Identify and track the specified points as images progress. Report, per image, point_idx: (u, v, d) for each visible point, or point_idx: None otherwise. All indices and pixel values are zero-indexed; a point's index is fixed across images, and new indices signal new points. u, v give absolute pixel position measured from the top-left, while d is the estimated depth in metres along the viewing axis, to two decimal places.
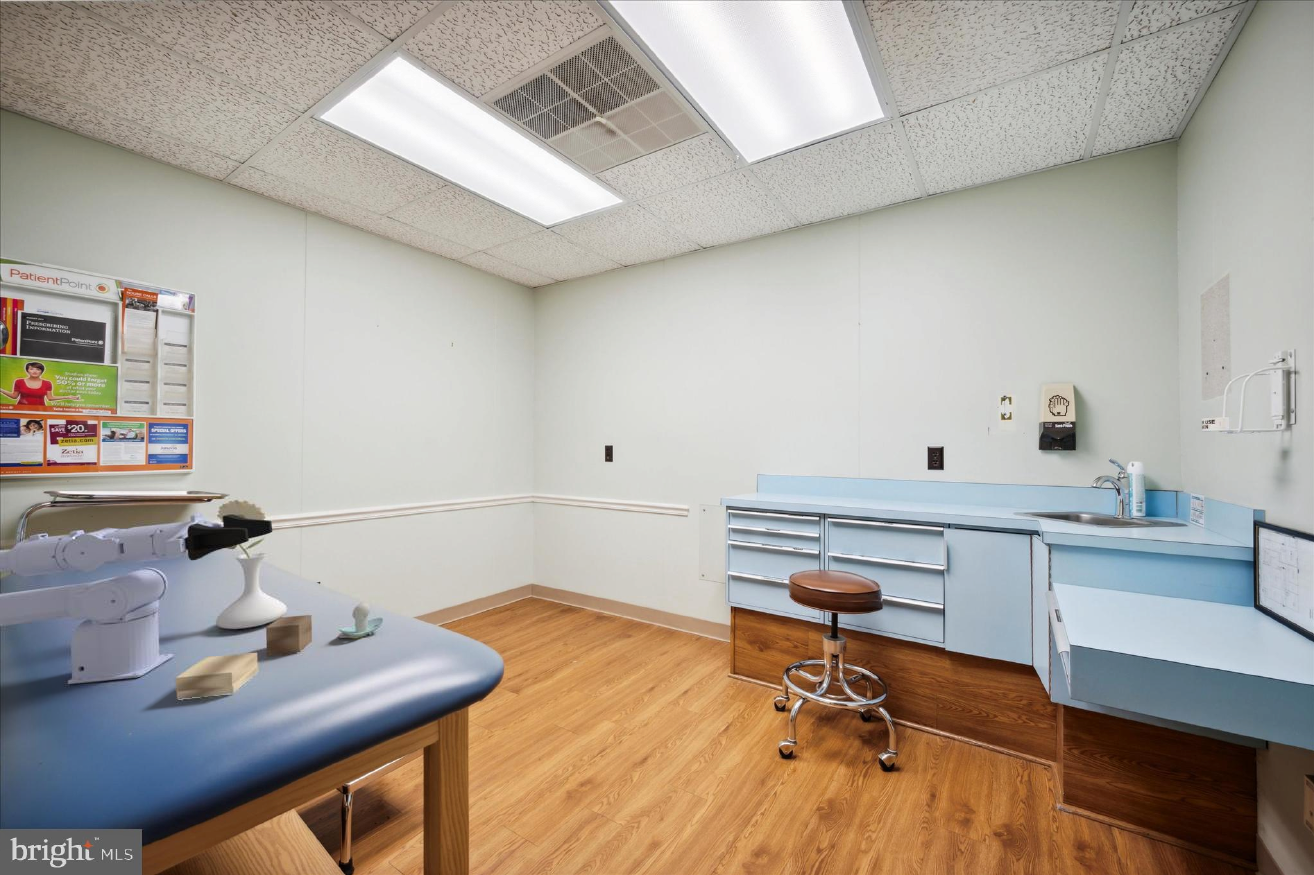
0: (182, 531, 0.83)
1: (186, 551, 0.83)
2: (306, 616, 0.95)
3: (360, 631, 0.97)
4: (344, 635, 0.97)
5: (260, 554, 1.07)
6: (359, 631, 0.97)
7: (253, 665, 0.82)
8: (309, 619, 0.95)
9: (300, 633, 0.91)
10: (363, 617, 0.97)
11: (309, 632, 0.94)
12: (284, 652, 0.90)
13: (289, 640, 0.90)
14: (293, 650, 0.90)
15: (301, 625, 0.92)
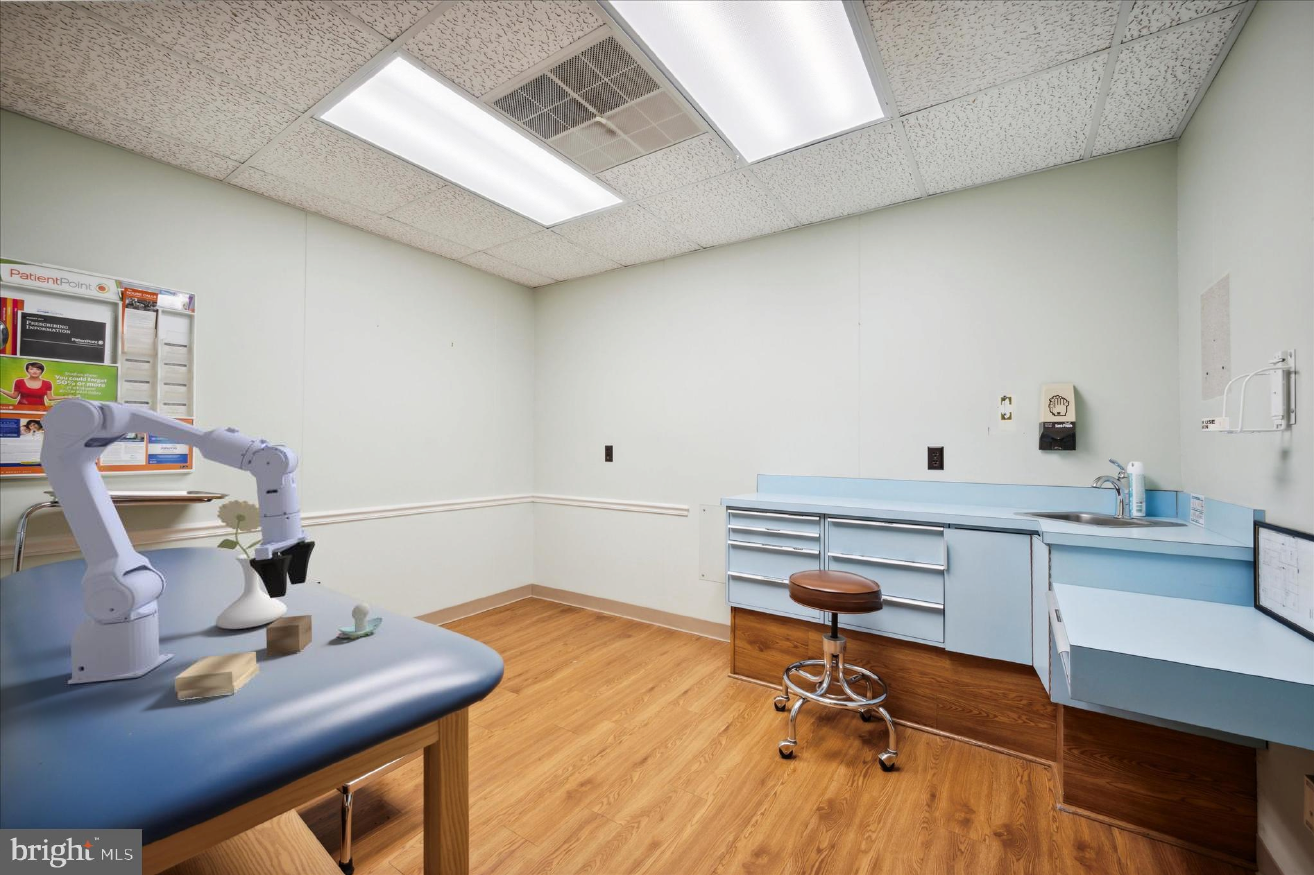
0: (283, 544, 0.88)
1: None
2: (306, 616, 0.95)
3: (359, 631, 0.97)
4: (343, 635, 0.97)
5: None
6: (358, 631, 0.97)
7: (252, 664, 0.82)
8: (309, 619, 0.95)
9: (300, 633, 0.91)
10: (362, 617, 0.98)
11: (309, 632, 0.94)
12: (284, 652, 0.90)
13: (289, 640, 0.90)
14: (293, 650, 0.90)
15: (301, 625, 0.92)
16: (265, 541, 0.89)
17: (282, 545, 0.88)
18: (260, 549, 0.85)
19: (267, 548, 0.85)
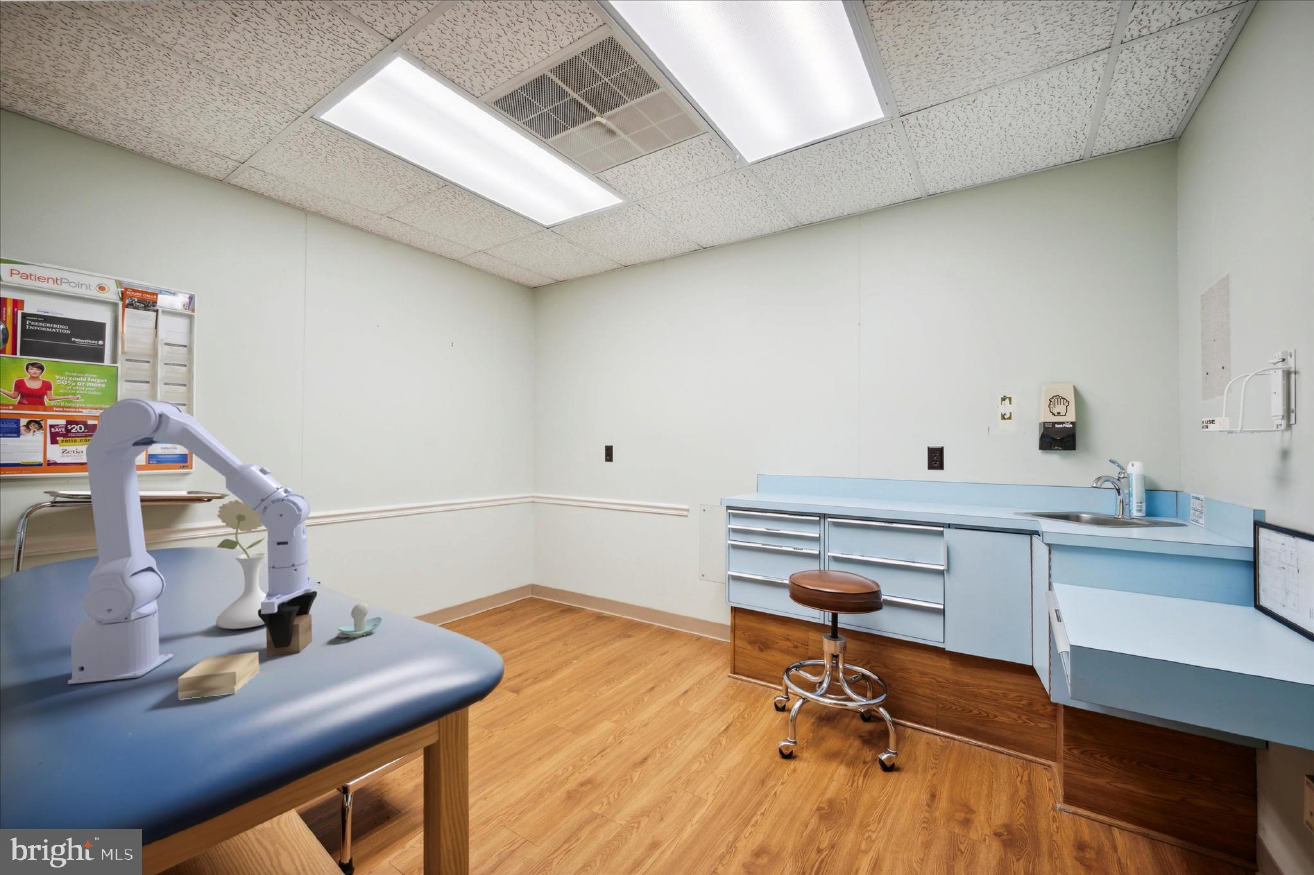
0: (289, 597, 0.89)
1: (267, 601, 0.88)
2: (306, 615, 0.95)
3: (359, 630, 0.98)
4: (343, 634, 0.97)
5: (260, 554, 1.07)
6: (358, 630, 0.98)
7: (255, 664, 0.82)
8: (309, 619, 0.95)
9: (300, 632, 0.91)
10: (362, 616, 0.98)
11: (309, 631, 0.94)
12: (284, 652, 0.90)
13: None
14: (293, 649, 0.90)
15: (301, 624, 0.92)
16: (271, 592, 0.90)
17: (288, 598, 0.89)
18: (266, 603, 0.85)
19: (273, 602, 0.85)
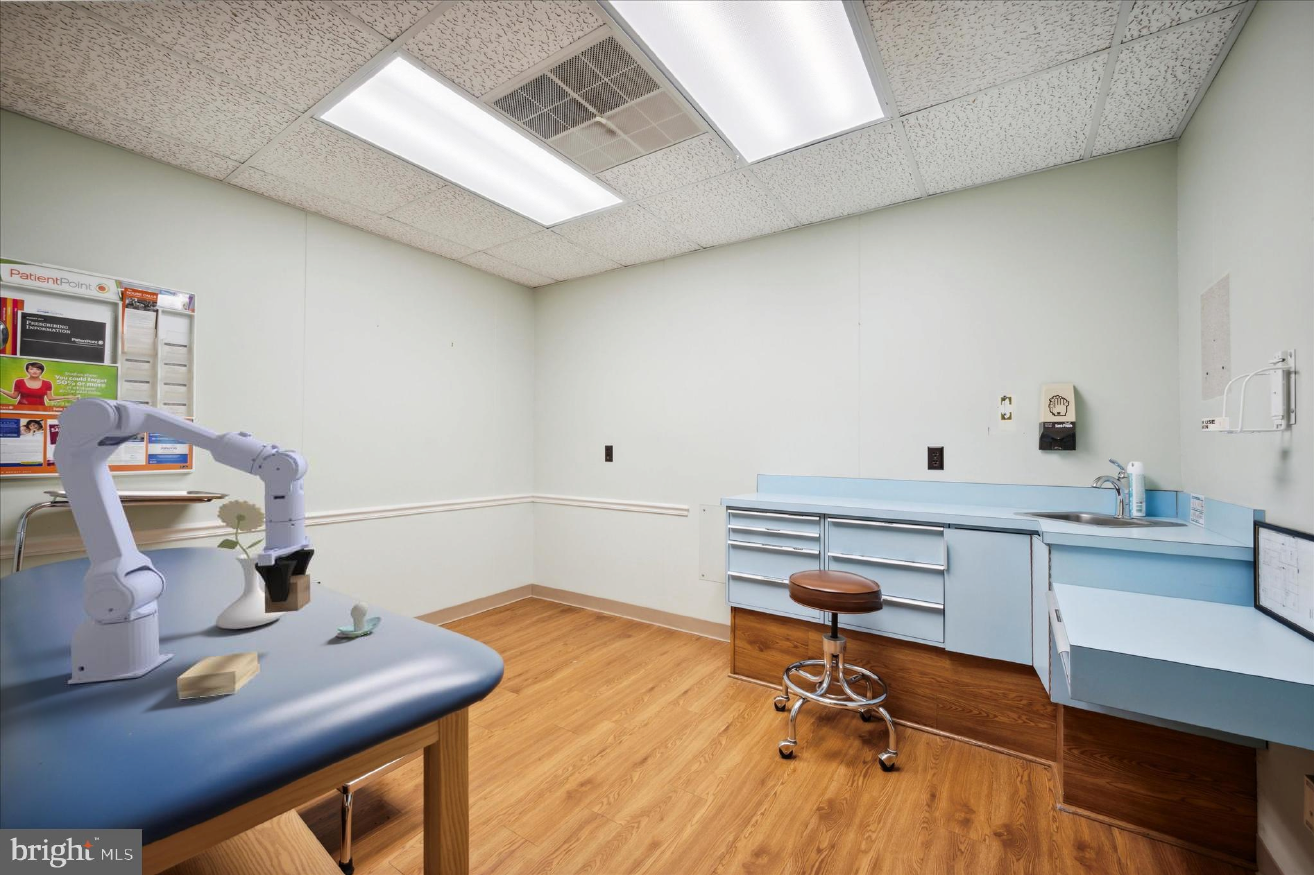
0: (286, 551, 0.88)
1: None
2: (305, 575, 0.94)
3: (358, 630, 0.98)
4: (342, 634, 0.97)
5: None
6: (357, 630, 0.98)
7: (254, 664, 0.82)
8: (308, 578, 0.94)
9: (299, 590, 0.91)
10: (361, 616, 0.98)
11: (307, 591, 0.94)
12: (282, 609, 0.90)
13: None
14: (292, 607, 0.90)
15: (300, 582, 0.91)
16: (268, 546, 0.89)
17: (285, 552, 0.88)
18: (263, 555, 0.85)
19: (270, 554, 0.85)
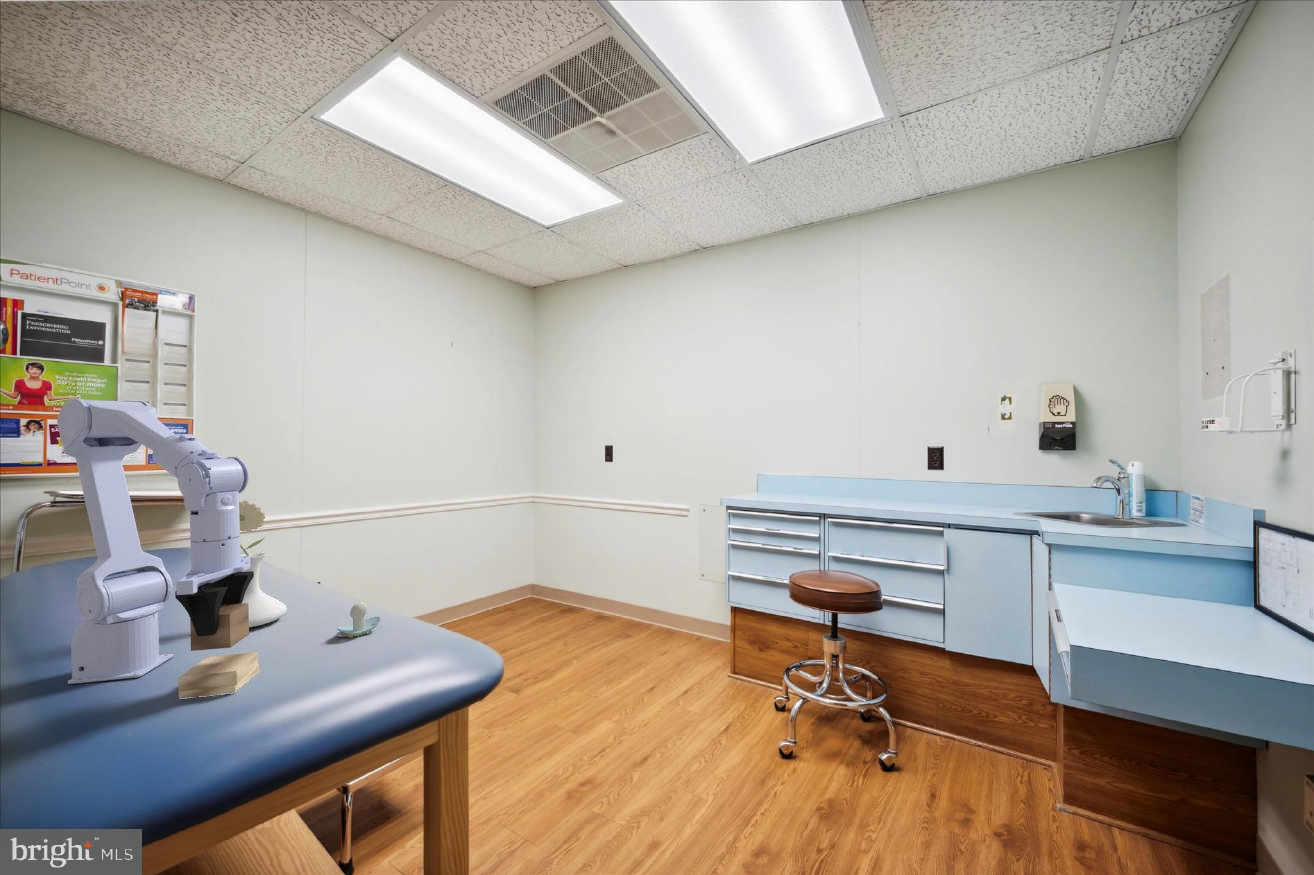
0: (214, 576, 0.75)
1: None
2: (242, 604, 0.81)
3: (358, 630, 0.98)
4: (342, 634, 0.97)
5: (260, 554, 1.07)
6: (357, 630, 0.98)
7: (254, 664, 0.82)
8: (245, 608, 0.81)
9: (232, 624, 0.78)
10: (361, 616, 0.98)
11: (244, 623, 0.81)
12: (212, 646, 0.76)
13: (218, 632, 0.77)
14: (223, 644, 0.77)
15: (234, 614, 0.78)
16: (193, 570, 0.76)
17: (212, 577, 0.75)
18: (183, 582, 0.72)
19: (191, 581, 0.72)
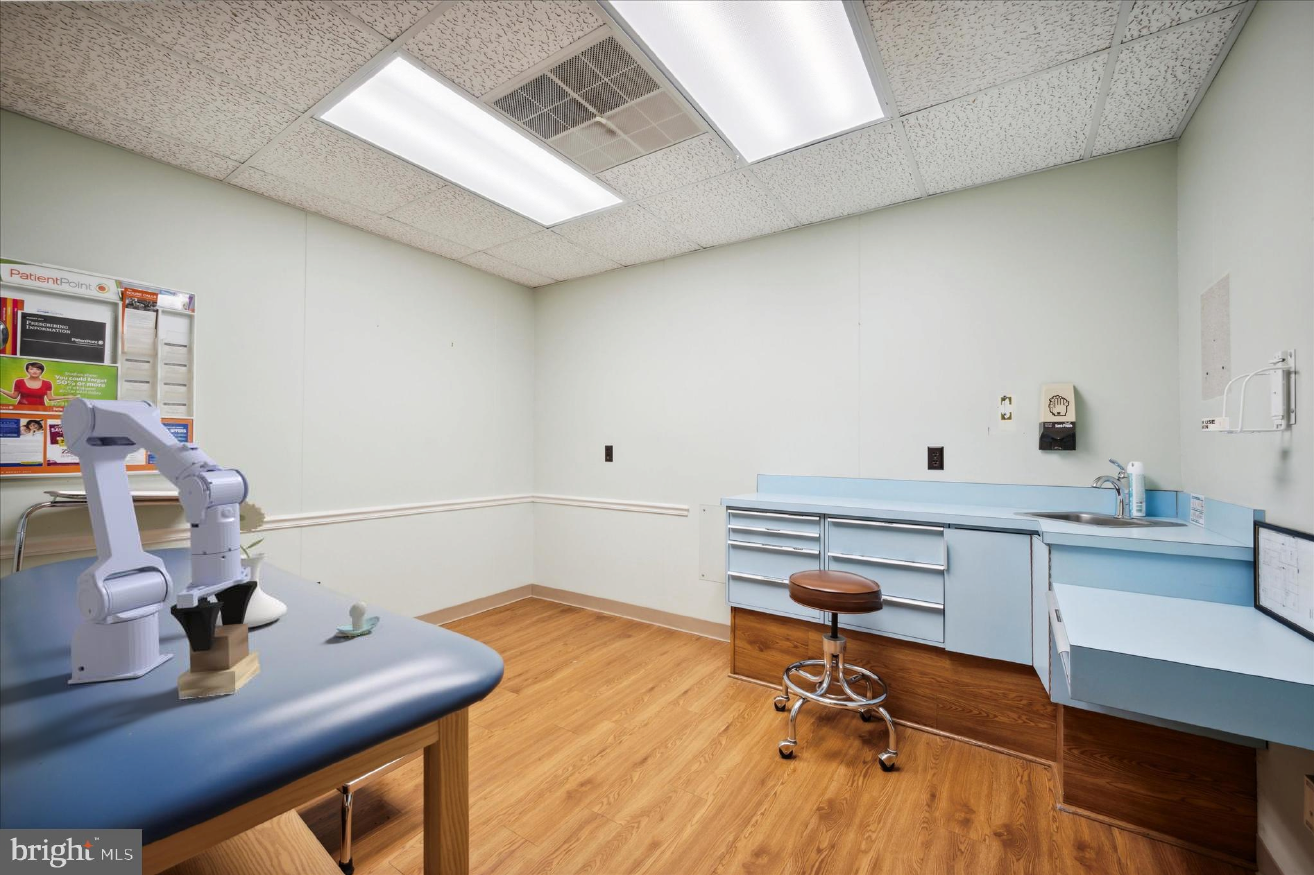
0: (214, 589, 0.75)
1: None
2: (241, 625, 0.81)
3: (357, 629, 0.98)
4: (341, 633, 0.97)
5: (260, 554, 1.07)
6: (356, 629, 0.98)
7: (254, 664, 0.82)
8: (244, 629, 0.81)
9: (231, 645, 0.78)
10: (360, 616, 0.98)
11: (244, 644, 0.81)
12: (211, 668, 0.77)
13: (217, 654, 0.77)
14: (222, 665, 0.77)
15: (233, 636, 0.78)
16: (194, 583, 0.76)
17: (212, 590, 0.75)
18: (183, 595, 0.72)
19: (192, 595, 0.72)
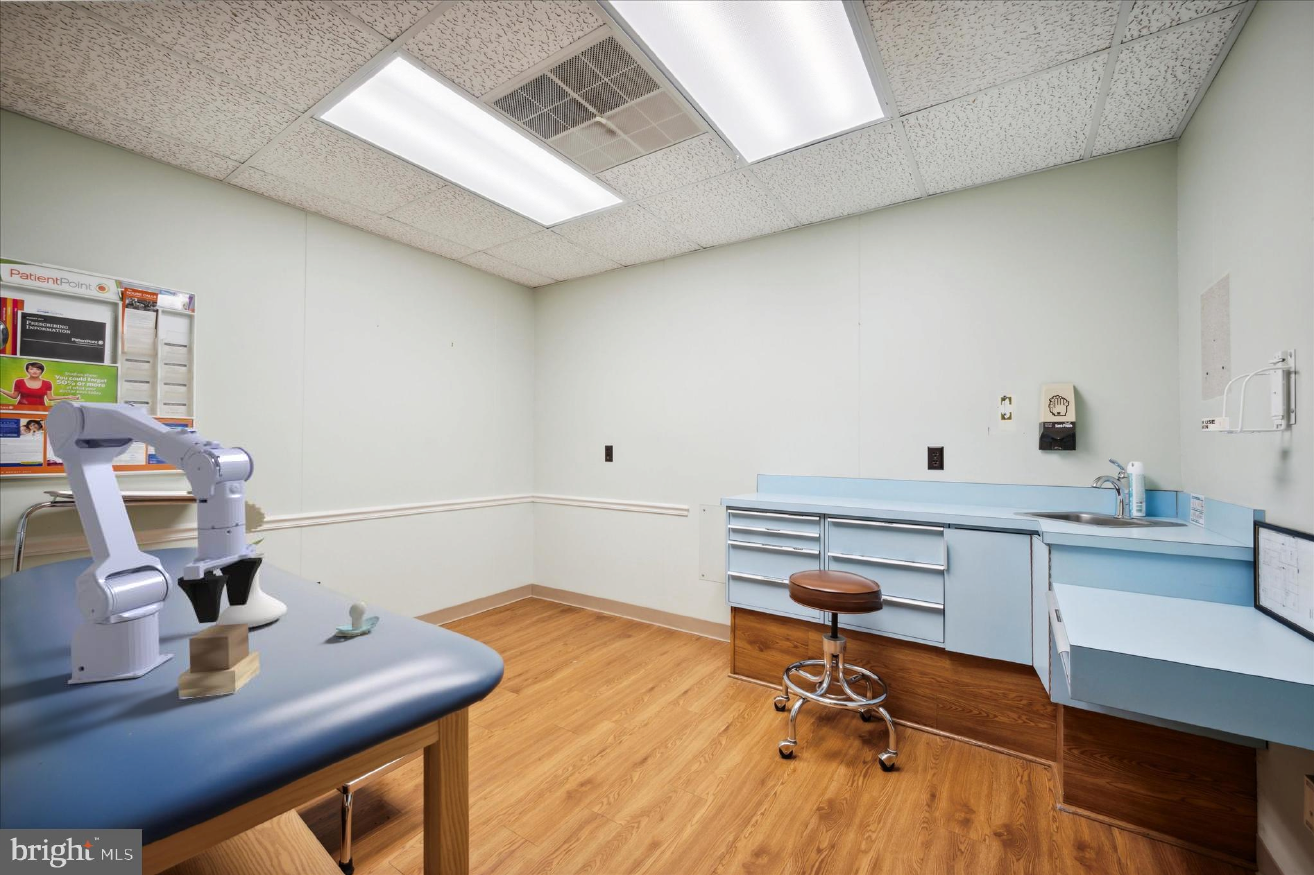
0: (220, 562, 0.77)
1: None
2: (242, 625, 0.81)
3: (356, 629, 0.98)
4: (341, 633, 0.97)
5: (260, 554, 1.07)
6: (355, 629, 0.98)
7: (255, 663, 0.82)
8: (245, 629, 0.81)
9: (231, 646, 0.77)
10: (359, 615, 0.98)
11: (244, 644, 0.81)
12: (211, 668, 0.76)
13: (217, 654, 0.76)
14: (222, 666, 0.77)
15: (233, 636, 0.78)
16: (200, 557, 0.78)
17: (218, 563, 0.77)
18: (190, 567, 0.74)
19: (198, 567, 0.74)
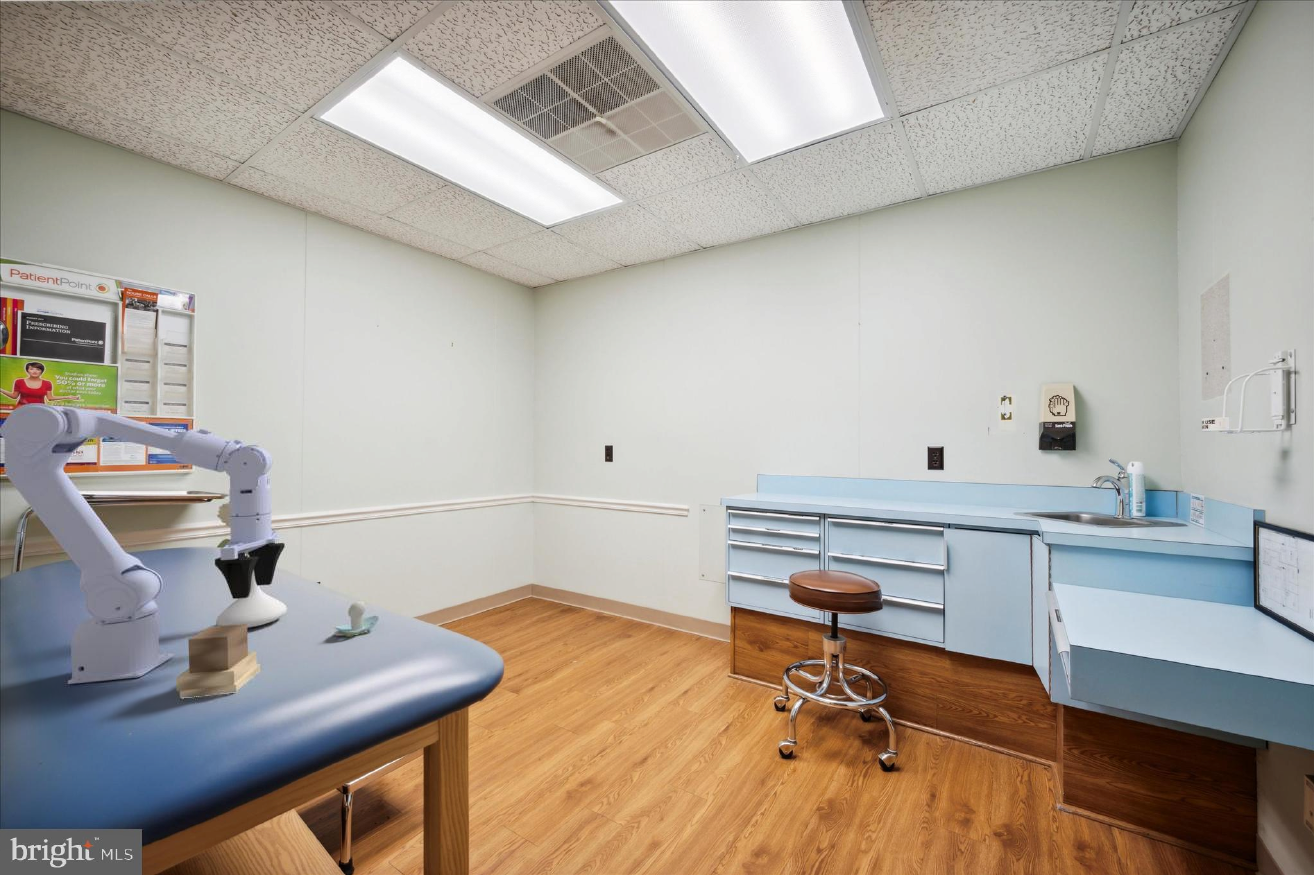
0: (250, 546, 0.88)
1: None
2: (241, 625, 0.81)
3: (356, 629, 0.98)
4: (340, 633, 0.98)
5: None
6: (355, 629, 0.98)
7: (253, 664, 0.82)
8: (244, 630, 0.81)
9: (230, 646, 0.78)
10: (359, 615, 0.99)
11: (243, 644, 0.81)
12: (210, 669, 0.77)
13: (216, 655, 0.77)
14: (221, 666, 0.77)
15: (232, 636, 0.78)
16: (233, 541, 0.89)
17: (249, 546, 0.88)
18: (226, 549, 0.85)
19: (233, 549, 0.85)
